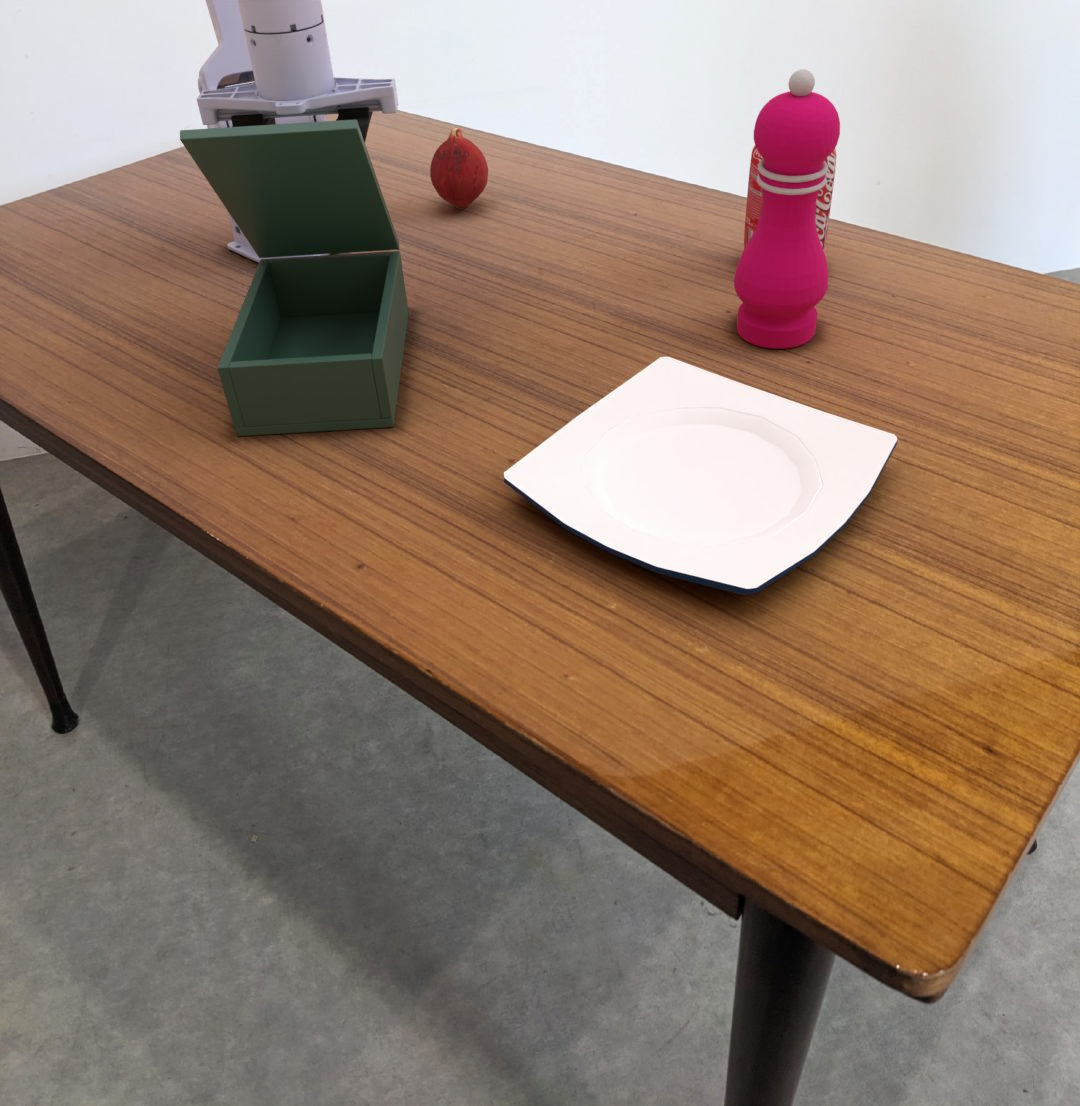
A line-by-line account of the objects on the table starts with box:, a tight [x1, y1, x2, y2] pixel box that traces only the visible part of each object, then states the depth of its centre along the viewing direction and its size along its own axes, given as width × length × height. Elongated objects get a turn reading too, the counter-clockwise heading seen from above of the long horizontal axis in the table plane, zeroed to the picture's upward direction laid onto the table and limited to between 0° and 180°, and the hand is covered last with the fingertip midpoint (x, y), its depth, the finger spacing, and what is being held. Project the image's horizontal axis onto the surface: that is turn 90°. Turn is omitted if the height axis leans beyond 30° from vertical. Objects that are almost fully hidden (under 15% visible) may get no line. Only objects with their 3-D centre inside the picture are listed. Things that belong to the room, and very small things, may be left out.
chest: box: [217, 250, 410, 437], centre depth 82 cm, size 18×12×6 cm, turn 2°
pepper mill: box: [733, 68, 841, 350], centre depth 79 cm, size 7×7×20 cm
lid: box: [179, 119, 400, 258], centre depth 78 cm, size 18×12×4 cm
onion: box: [429, 126, 489, 210], centre depth 105 cm, size 6×6×8 cm
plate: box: [503, 356, 899, 596], centre depth 69 cm, size 20×20×3 cm
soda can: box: [743, 145, 837, 251], centre depth 90 cm, size 7×7×12 cm
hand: (319, 209), depth 84 cm, fingers closed on lid, 5 cm apart
